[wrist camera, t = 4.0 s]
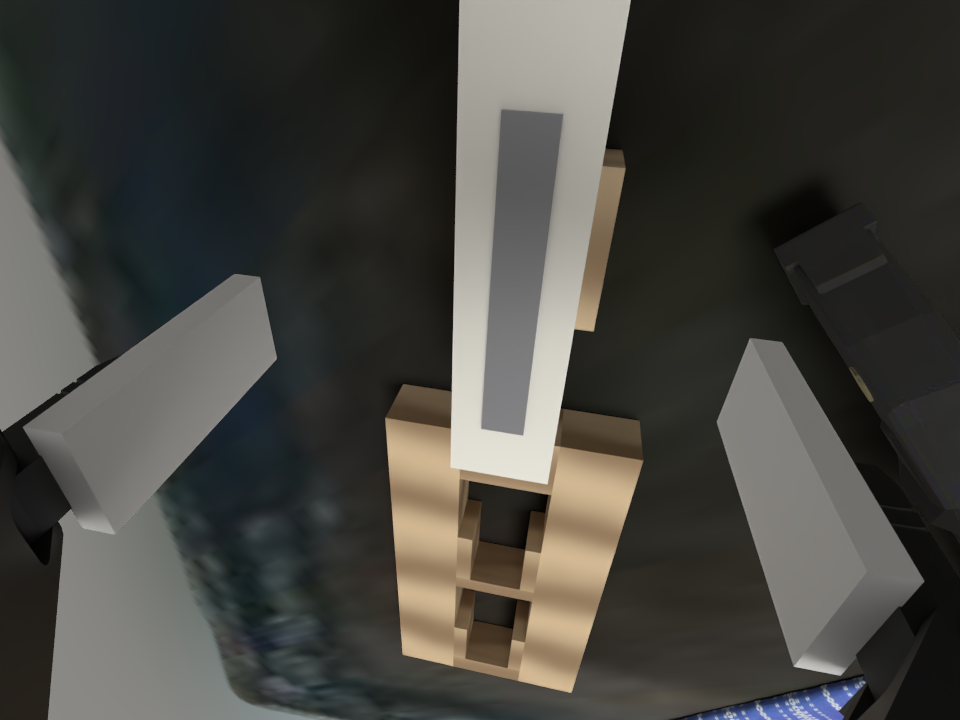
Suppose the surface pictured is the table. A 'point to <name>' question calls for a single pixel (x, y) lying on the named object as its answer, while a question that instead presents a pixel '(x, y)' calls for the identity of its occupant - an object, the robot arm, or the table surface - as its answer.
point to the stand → (600, 238)
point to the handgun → (888, 350)
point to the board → (501, 569)
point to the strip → (524, 216)
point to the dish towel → (792, 705)
